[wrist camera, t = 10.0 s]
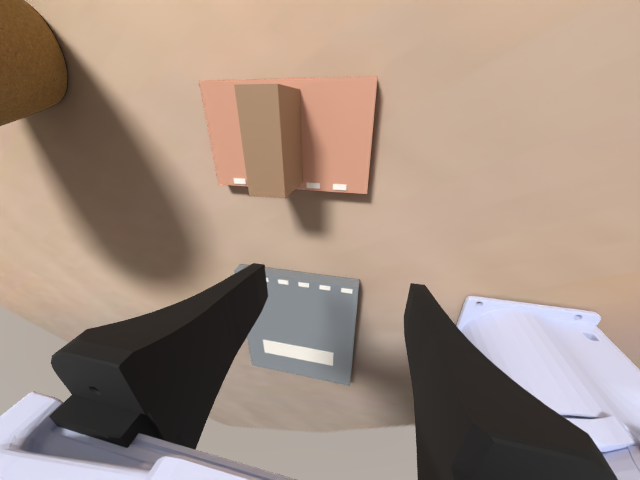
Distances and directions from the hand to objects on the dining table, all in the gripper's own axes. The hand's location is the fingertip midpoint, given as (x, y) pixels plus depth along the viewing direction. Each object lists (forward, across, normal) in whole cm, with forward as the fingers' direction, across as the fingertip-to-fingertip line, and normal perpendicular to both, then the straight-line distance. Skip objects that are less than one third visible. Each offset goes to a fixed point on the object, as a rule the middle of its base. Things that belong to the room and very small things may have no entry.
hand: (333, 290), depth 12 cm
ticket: (+9, +5, +13) cm, 17 cm away
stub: (+9, +5, -6) cm, 12 cm away
